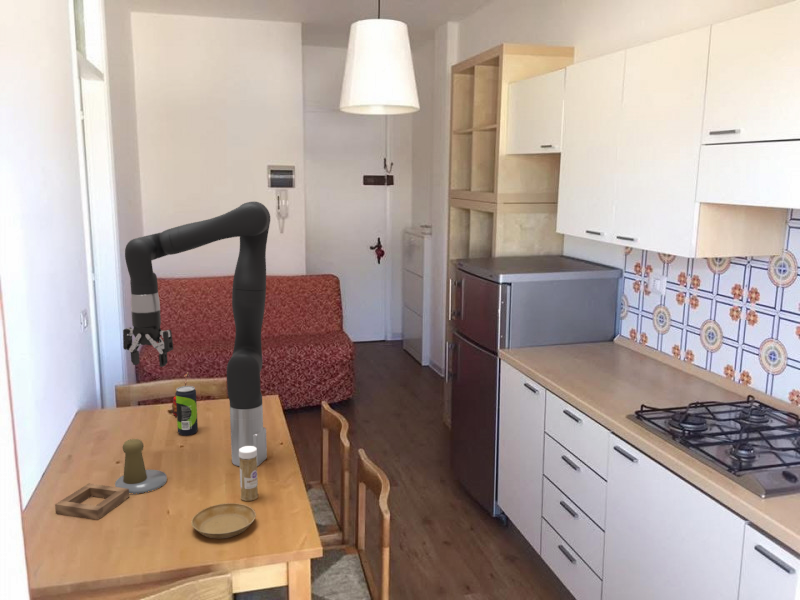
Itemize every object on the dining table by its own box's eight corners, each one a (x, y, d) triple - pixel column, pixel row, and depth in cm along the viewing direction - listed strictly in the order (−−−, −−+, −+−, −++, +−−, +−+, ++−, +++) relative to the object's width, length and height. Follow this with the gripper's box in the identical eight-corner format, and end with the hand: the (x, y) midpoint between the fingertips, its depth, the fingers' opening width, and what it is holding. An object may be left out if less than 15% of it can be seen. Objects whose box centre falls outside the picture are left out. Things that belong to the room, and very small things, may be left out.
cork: (138, 485, 178) (135, 445, 176) (118, 482, 179) (115, 443, 177) (151, 475, 184) (149, 437, 182) (132, 473, 185) (129, 435, 183)
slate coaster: (176, 475, 186) (176, 472, 186) (147, 496, 174) (147, 493, 173) (135, 470, 189) (135, 467, 189) (104, 490, 177) (104, 487, 176)
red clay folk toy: (169, 413, 235) (166, 372, 232) (188, 409, 240) (186, 369, 237) (178, 419, 229) (175, 377, 227) (197, 415, 234) (195, 373, 231)
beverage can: (202, 431, 219) (199, 387, 216) (186, 437, 213) (184, 392, 211) (189, 428, 222) (186, 384, 219) (173, 433, 217) (171, 389, 214)
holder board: (129, 497, 173) (128, 488, 173) (97, 519, 162) (97, 510, 161) (89, 491, 176) (88, 483, 176) (55, 513, 165) (55, 504, 164)
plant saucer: (178, 537, 155) (177, 526, 154) (216, 508, 168) (216, 498, 168) (233, 549, 150) (232, 538, 149) (267, 518, 163) (267, 508, 163)
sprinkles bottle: (252, 502, 171) (251, 453, 168) (237, 500, 172) (235, 450, 170) (261, 494, 175) (260, 446, 173) (246, 492, 176) (244, 444, 174)
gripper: (176, 307, 189) (179, 363, 192) (131, 305, 192) (135, 360, 195) (160, 312, 181) (164, 370, 184) (114, 310, 185) (119, 367, 187)
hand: (149, 365), depth 189 cm, fingers open, 8 cm apart
